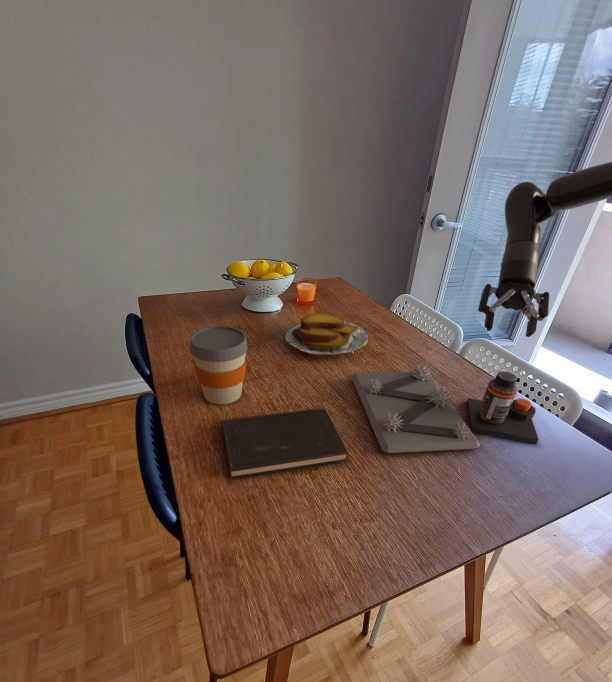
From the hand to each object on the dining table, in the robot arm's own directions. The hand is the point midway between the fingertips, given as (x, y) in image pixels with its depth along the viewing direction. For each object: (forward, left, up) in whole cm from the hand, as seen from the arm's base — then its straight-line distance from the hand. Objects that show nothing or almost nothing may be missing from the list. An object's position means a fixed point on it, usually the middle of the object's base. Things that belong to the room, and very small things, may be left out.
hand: (509, 332), depth 90 cm
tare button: (-7, +5, -16) cm, 18 cm away
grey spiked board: (+18, +12, -19) cm, 29 cm away
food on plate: (+44, -17, -19) cm, 51 cm away
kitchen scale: (-3, +9, -18) cm, 21 cm away
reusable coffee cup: (+62, +19, -19) cm, 68 cm away
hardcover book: (+43, +32, -19) cm, 57 cm away
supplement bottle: (0, +10, -17) cm, 20 cm away
